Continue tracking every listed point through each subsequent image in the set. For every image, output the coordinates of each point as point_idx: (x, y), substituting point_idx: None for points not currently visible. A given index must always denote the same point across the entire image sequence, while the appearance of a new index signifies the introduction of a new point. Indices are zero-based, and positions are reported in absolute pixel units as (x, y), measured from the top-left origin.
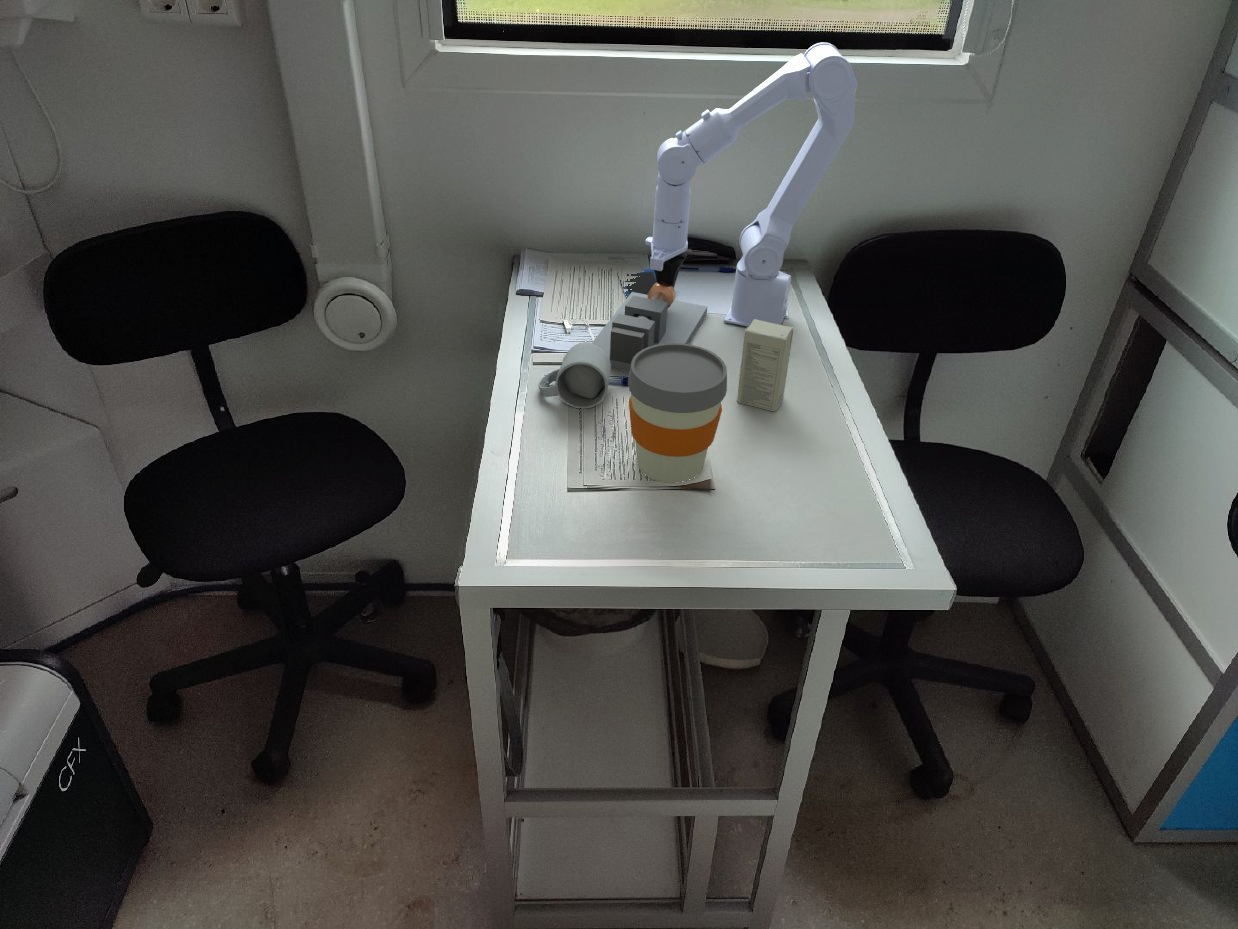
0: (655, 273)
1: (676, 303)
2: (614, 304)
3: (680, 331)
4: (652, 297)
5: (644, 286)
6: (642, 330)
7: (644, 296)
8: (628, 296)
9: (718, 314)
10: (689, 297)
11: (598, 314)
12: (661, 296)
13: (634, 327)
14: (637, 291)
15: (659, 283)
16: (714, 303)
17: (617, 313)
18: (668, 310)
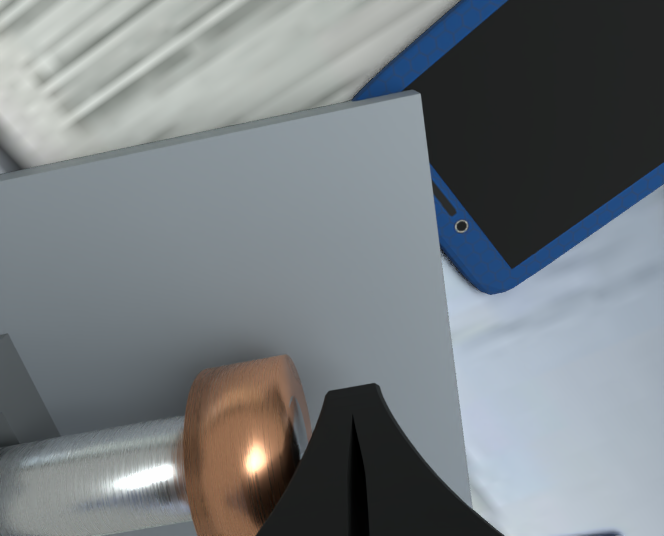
0: (268, 518)
1: (421, 398)
2: (277, 21)
3: (152, 532)
4: (109, 484)
5: (626, 73)
6: None
7: (403, 206)
8: (336, 112)
9: (488, 519)
10: (607, 354)
11: (75, 6)
12: (165, 522)
13: None
14: (524, 73)
15: (246, 509)
16: (592, 468)
17: (64, 185)
18: (314, 404)
